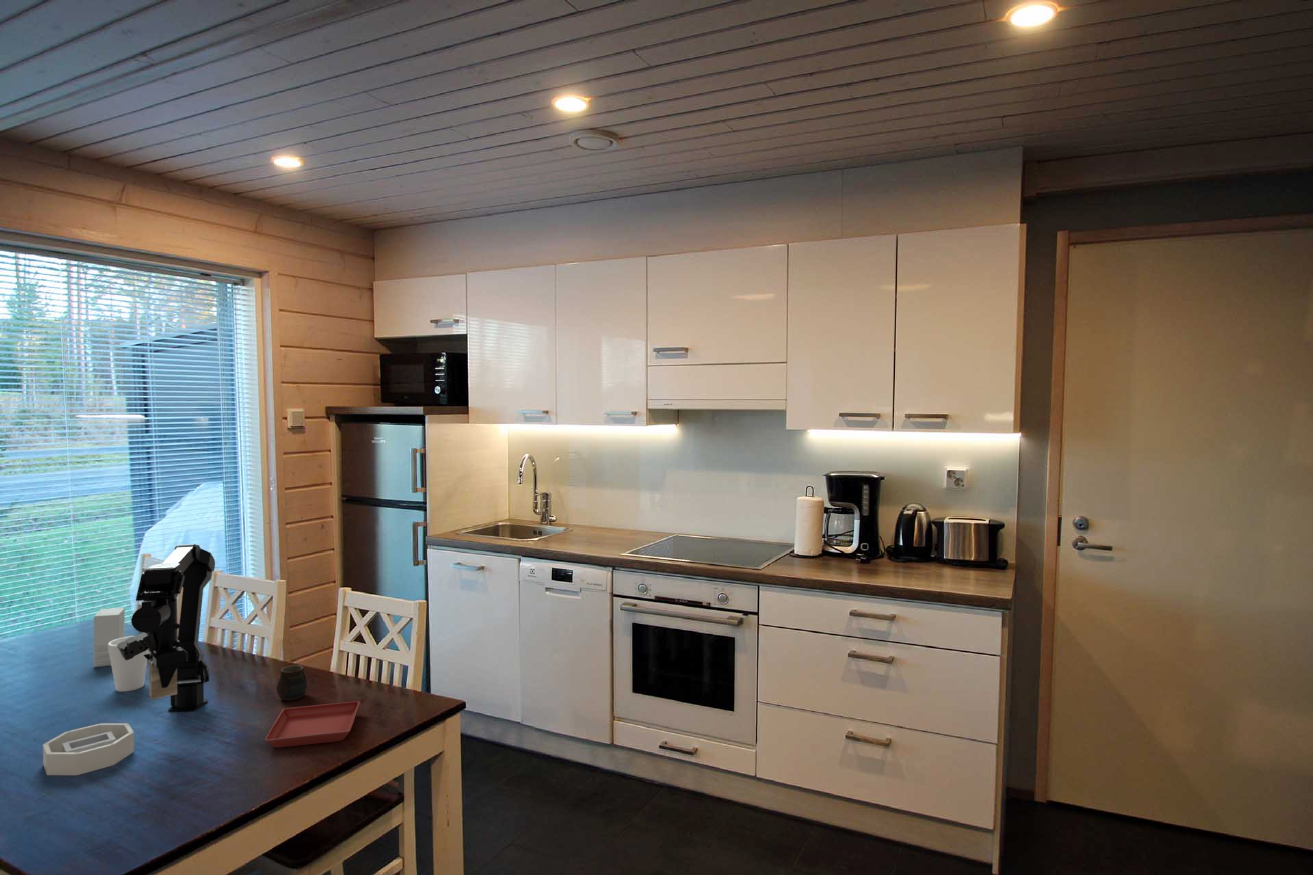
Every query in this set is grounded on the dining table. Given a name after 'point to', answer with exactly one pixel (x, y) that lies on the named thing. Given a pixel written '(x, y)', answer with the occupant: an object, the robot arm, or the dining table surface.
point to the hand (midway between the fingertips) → (163, 685)
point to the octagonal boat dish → (88, 749)
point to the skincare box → (107, 633)
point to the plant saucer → (312, 724)
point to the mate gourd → (292, 683)
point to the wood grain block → (155, 684)
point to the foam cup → (127, 667)
